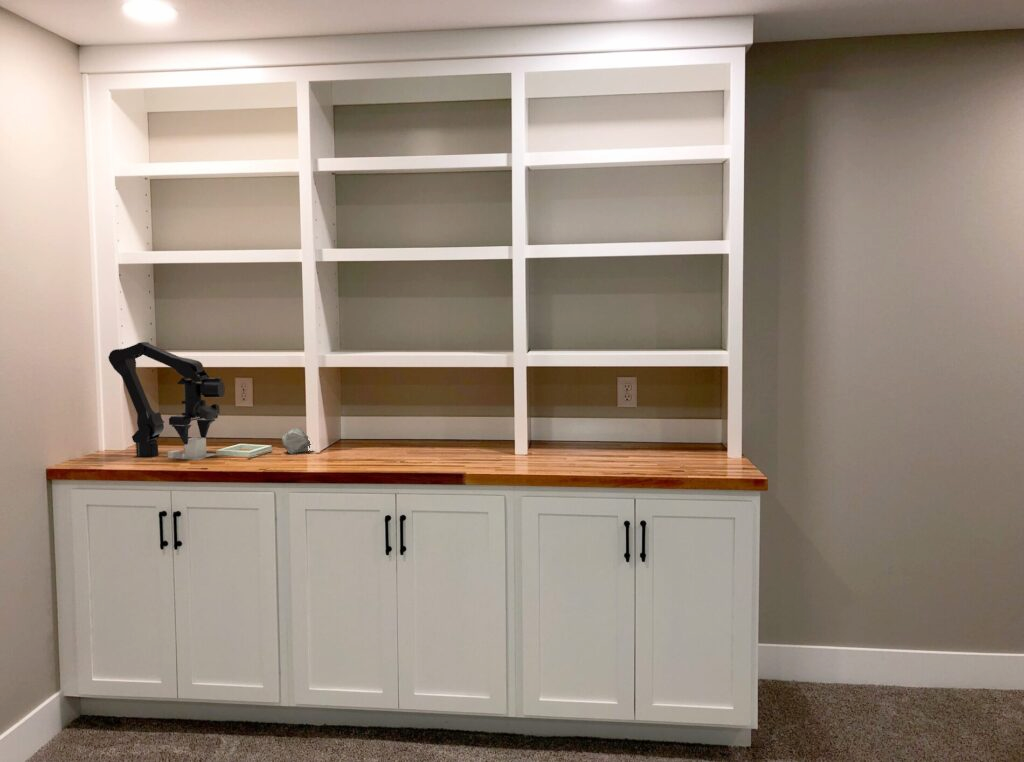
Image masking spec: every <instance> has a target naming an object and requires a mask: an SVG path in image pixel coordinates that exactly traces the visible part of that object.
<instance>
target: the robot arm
mask: <svg viewBox="0 0 1024 762" xmlns="http://www.w3.org/2000/svg"><path fill="white" fill-rule="evenodd" d="M142 356H145V357H147V358H149V359H152V360H154V361H155V362H156V361H157V362H159V363H161V364H163V365H165V366H167V367H170V368H171V369H173V370H174V371H175V372H176V373H177V374H179V375H180V376H181V379H180V380H179V381H178V382H177V385H183V398H184V399H183V400H181V404H182V405H184V412H182V413H181V414H177V415H171V416H170V417H169V418H168V424H169V426H171V427H172V428H174V429H175V431H176V433H177V434H178V436H179V437H180V440H181V441H182V443H183V444H186V445H187V444H188V439H189V429H190V427H191V426H192V424H191V423H192V421H196V424H197V426H198V431H199V435H200V438H206V439H207V435H208V433H209V432H208V431H209V429H210V426H211V424H212V423H214V422H215V421H216V420H217V419H219V418H218V417H219V414H220V409H221V408H220V405H219V404H217V403H214V404H211V405H208V404H207V403H206V400H205V399H203V397H204V398H214V399H215V398H216V399H217V398H221V399H222V398H223V397H224V396H225V394H226V393H225V392H226V387H225V384H224V383H225V382H223V380H222V377H211V376H210V375H209V374H208V373H207V371H205V369H204V365H203V363H202V362H201V361H199V360H197V359H192V358H187V357H181V356H178V355H176V354H173V353H171V352H169V351H166V350H164V349H162V348H159V347H157V346H155V345H153V344H151V343H149V342H147V341H142V342H141V341H140V342H137V343H136V344H132V345H130V346H129V347H124V348H118V349H116V348H115V349H113V350H111V351H110V353H109V355H108V361H109V363H110V364H111V366H112V368H113V370H115V372H117V374H119V375H120V377H121V378H122V380H123V383H124V386H125V387H126V390H127V392H128V396H129V399H130V400H131V402H132V405H133V407H134V410H135V411H136V414H137V416H136V418H137V419H136V424H137V429H138V430H136V432H134V434H133V435H132V436H131V438H132V441H133V443H135V448H136V450H135V451H136V457H138V458H148V457H149V458H154V457H158V456H159V444H158V439H159V438H160V435H161V434H162V432H164V431H163V430H164V428H165V426H164V423H165V421H164V420H163V418H162V414H161V412H159V411H158V412H155V411H154V410H153V409H152V407H151V405H150V402H149V401H148V397H147V395H146V394H145V390H144V388H143V386H142V384H141V381H140V378H139V377H138V374H137V361H136V359H138V358H141V357H142Z"/></svg>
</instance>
